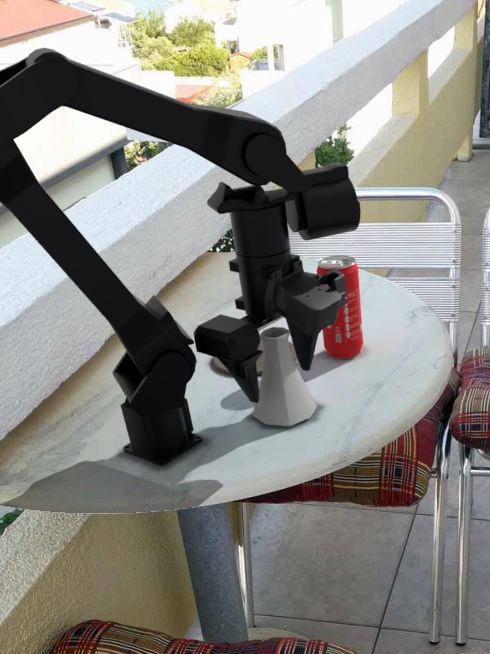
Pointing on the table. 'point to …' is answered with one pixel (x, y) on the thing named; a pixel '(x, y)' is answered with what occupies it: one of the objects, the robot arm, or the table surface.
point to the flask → (281, 384)
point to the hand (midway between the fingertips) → (281, 385)
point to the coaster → (258, 363)
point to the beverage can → (344, 311)
